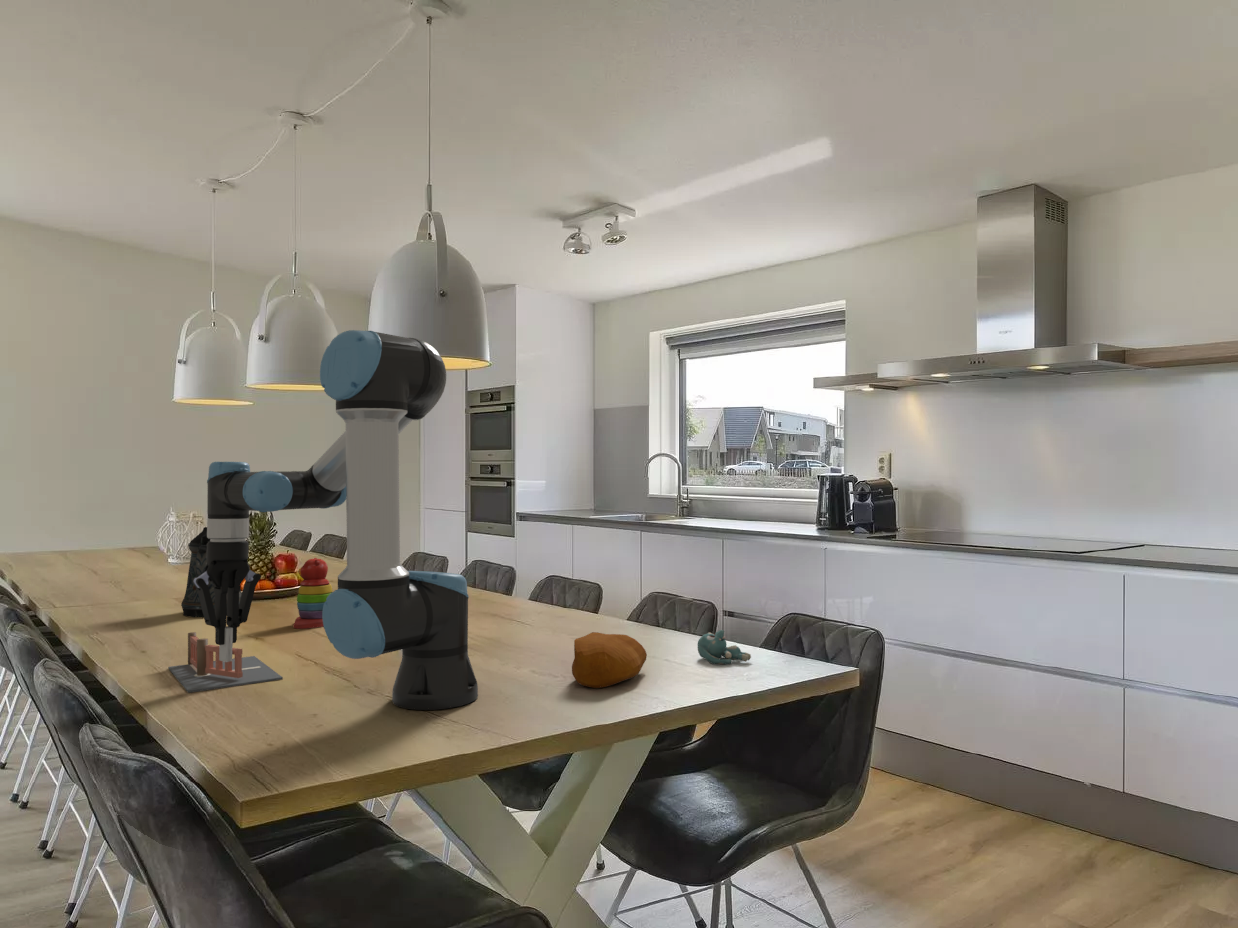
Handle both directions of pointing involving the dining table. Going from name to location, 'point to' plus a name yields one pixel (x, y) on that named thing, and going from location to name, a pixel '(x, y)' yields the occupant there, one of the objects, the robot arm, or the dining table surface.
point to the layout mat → (251, 674)
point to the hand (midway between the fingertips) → (225, 660)
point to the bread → (606, 659)
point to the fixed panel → (197, 653)
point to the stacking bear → (312, 594)
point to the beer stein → (196, 569)
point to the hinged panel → (219, 664)
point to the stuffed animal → (719, 649)
